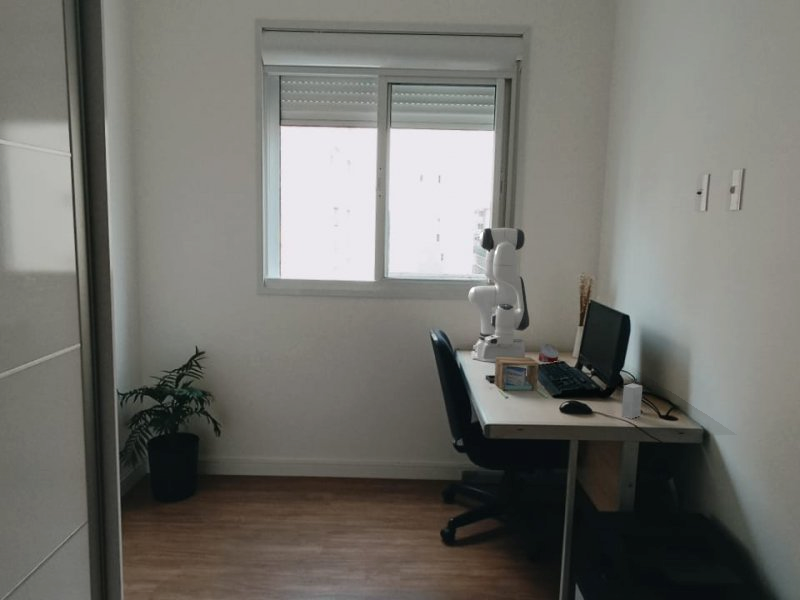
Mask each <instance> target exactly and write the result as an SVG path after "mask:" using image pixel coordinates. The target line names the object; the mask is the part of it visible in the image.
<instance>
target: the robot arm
mask: <svg viewBox="0 0 800 600" xmlns="http://www.w3.org/2000/svg"><path fill="white" fill-rule="evenodd" d="M525 240H526V238H525V232H524V231H523V230H522V229H520V228H511V227H492V228H491V227H488V228H483V229H482V231H481V232H480V234H479V239H478V241H479V244H480V246H481V247H480V248H482V249H484V250H486V252H485V261H484V275H485V277H486V278H488V279H489V280H491V281H492V282H494V285H476V286H472V287H471V288H470V289H469V292H468V301H469V303H470V304H471V305H472V306H473V307H475V309H476V310H477V312H478V314H479V317H480V332H479V335H478V336H479V337H478V338H479V339H478V340H477V342H476V343H475V344H473V345H472V350H471V352H470V355H471V358H472V359H473V360H476V361H481V362H482V361H483V362H488V363H493V362H494V363H496V357H526V349H525V348H526V341H525V340H524V339H522V338H519V339H518V338H515V331H522V332H524V331H525V330H526V329H528V327H529V326H530V324H531V323H530V315H529V311H528V309H529V308H528V302H527V295H526V287H525V282H524V279H523V276H521V275H520V274H519V273H518V270H517V263H518V262H517V261H518V260H517V257H518V256H517V251H518V250H521V249H522V248H523V247H524V245H525ZM516 304H517V308H516V309H515V307H514V306H515V305H516ZM492 308H496V309H494V310H493V309H492Z"/></svg>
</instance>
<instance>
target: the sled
mask: <svg viewBox="0 0 800 600" xmlns="http://www.w3.org/2000/svg"><path fill="white" fill-rule="evenodd" d="M507 367H508V366H505V379H504V391H505V390H507V391H508V390H511V391H513V390H516V391H517V390H519V391H520V390H522V391H523V390H525V391H526V390H533V389H532V385H530V384H529V383H528V382H527V381H526V384H525V385H523V386H520V385H505V383H506V368H507Z"/></svg>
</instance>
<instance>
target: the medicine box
mask: <svg viewBox="0 0 800 600" xmlns="http://www.w3.org/2000/svg"><path fill="white" fill-rule="evenodd" d="M526 376H527V367H522V366H508V367H507V368H506V383H505V385H520V386H523V385H525V384H526Z"/></svg>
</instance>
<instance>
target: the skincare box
mask: <svg viewBox="0 0 800 600" xmlns="http://www.w3.org/2000/svg"><path fill="white" fill-rule="evenodd" d="M642 395H643V385H641V384H638V383H637V384H636V383H629V384H625V385H623V393H622V405H621V406H622V407H621V417H622V416H625V417H628V418H634V419H636V418H635V417H637V418H639V417H638V416H640V417H641V413H642V412H641V408H642V398H643V396H642ZM625 417H624V418H625ZM628 418H627V419H628Z"/></svg>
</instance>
